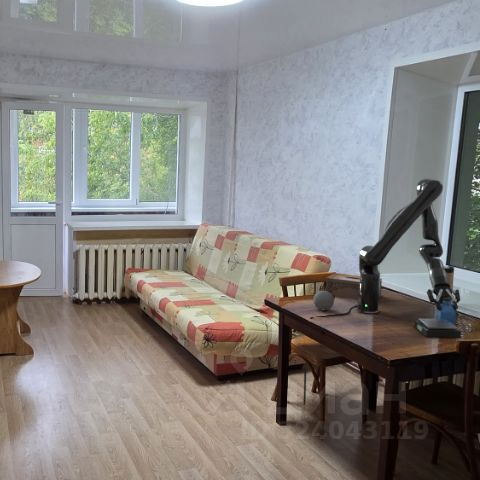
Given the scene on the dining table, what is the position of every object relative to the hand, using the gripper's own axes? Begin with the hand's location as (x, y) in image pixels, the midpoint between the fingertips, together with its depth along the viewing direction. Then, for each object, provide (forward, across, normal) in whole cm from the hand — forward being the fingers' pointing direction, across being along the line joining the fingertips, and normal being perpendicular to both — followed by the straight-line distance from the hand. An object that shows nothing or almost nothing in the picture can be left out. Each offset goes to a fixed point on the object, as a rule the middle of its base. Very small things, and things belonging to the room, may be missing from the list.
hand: (447, 309), depth 241 cm
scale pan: (+10, -9, -6) cm, 15 cm away
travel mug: (-19, +12, +29) cm, 36 cm away
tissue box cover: (-29, -30, +39) cm, 58 cm away
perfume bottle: (+4, 0, +6) cm, 7 cm away
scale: (+13, -9, -3) cm, 16 cm away
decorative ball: (-9, -52, +19) cm, 56 cm away
